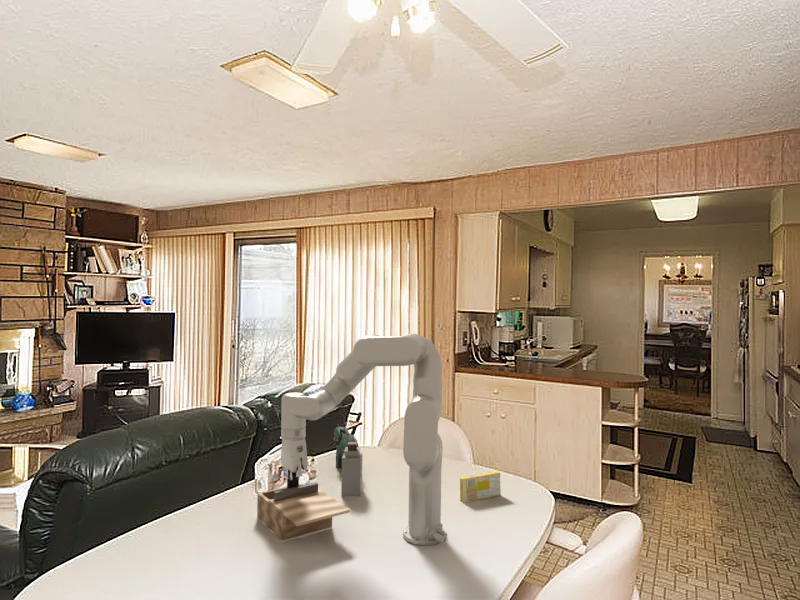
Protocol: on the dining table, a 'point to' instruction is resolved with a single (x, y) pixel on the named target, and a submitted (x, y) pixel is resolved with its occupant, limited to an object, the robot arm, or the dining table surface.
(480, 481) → the candy box
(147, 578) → the dining table surface
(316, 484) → the sliding wooden box lid
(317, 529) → the wooden box
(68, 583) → the dining table surface
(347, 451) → the perfume bottle
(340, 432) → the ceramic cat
